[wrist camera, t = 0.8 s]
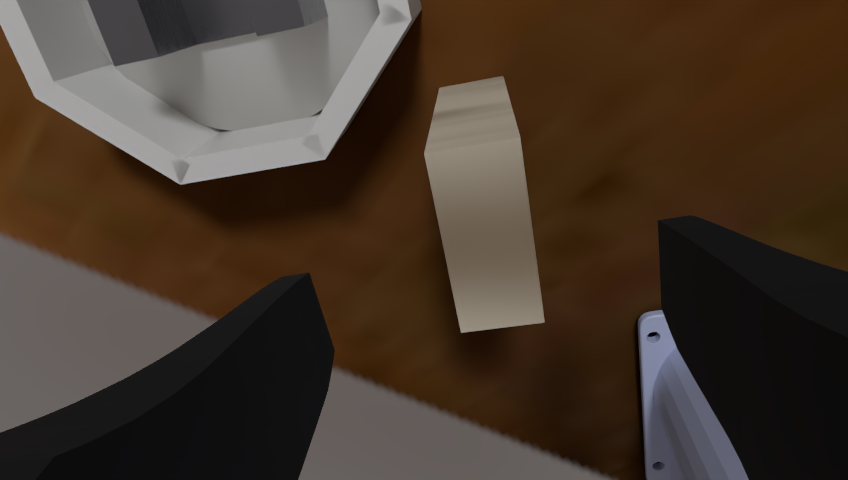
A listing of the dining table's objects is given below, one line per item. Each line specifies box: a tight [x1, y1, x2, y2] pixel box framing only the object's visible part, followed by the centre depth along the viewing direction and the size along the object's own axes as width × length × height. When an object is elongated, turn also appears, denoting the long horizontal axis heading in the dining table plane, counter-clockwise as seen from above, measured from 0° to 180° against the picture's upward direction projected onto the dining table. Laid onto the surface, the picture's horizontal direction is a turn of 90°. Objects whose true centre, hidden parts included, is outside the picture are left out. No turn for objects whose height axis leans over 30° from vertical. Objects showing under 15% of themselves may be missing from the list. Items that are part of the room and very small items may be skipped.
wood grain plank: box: [424, 76, 545, 333], centre depth 18 cm, size 5×2×8 cm, turn 11°
